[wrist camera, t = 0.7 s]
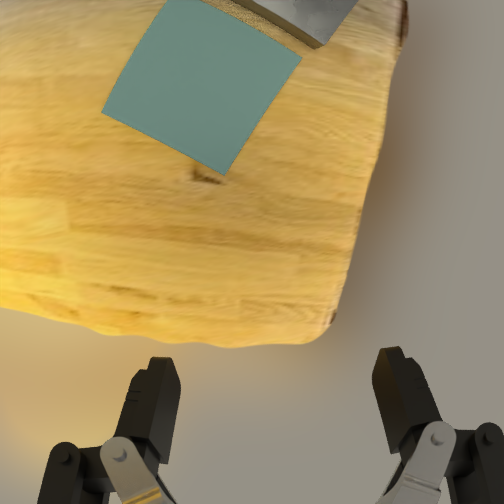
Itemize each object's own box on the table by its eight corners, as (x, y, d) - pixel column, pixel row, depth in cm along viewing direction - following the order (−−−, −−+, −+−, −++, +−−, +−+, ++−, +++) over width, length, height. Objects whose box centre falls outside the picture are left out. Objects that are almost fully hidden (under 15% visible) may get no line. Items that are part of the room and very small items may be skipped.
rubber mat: (102, 112, 24) (101, 112, 24) (176, -9, 20) (175, -11, 19) (224, 174, 29) (224, 175, 28) (300, 58, 24) (302, 57, 24)
